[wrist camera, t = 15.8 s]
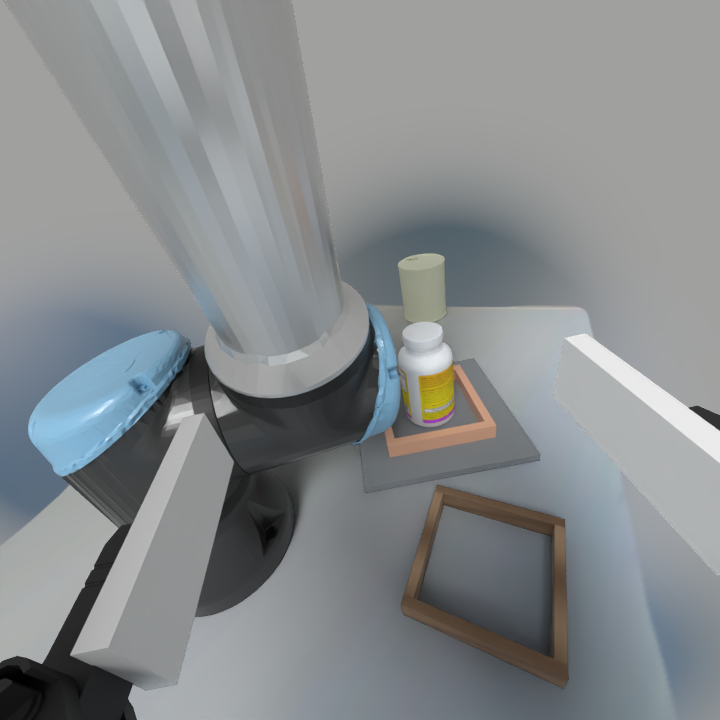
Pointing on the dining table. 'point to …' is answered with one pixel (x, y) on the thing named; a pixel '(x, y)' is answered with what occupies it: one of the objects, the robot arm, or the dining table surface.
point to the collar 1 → (449, 435)
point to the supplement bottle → (426, 375)
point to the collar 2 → (477, 636)
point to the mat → (449, 460)
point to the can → (423, 287)
